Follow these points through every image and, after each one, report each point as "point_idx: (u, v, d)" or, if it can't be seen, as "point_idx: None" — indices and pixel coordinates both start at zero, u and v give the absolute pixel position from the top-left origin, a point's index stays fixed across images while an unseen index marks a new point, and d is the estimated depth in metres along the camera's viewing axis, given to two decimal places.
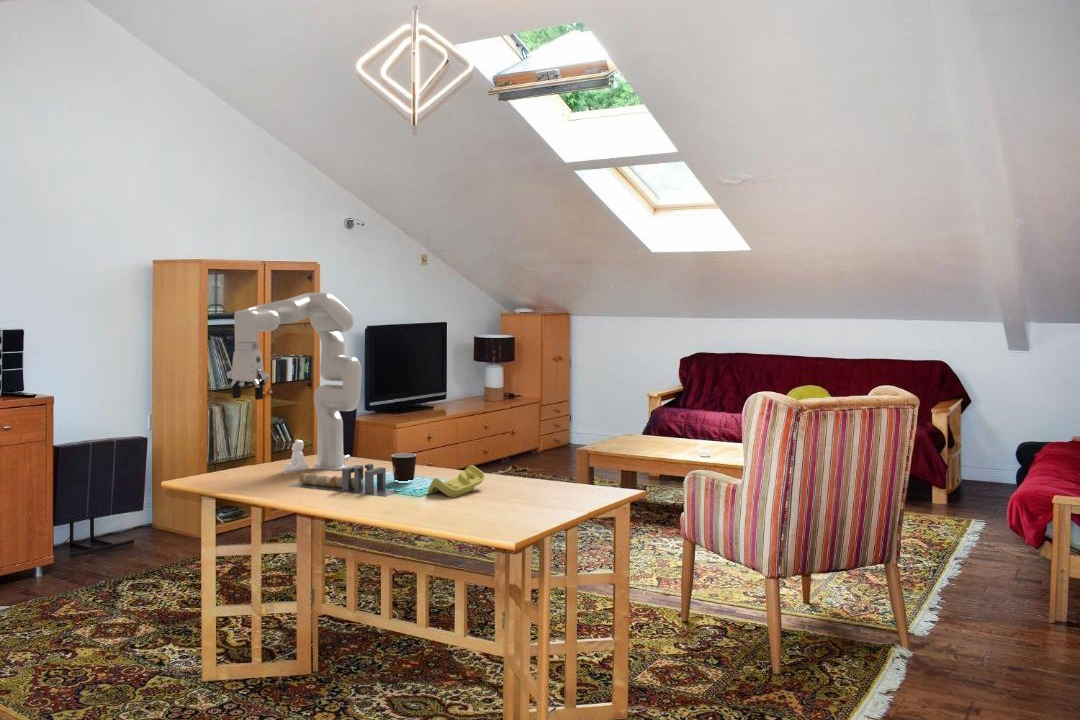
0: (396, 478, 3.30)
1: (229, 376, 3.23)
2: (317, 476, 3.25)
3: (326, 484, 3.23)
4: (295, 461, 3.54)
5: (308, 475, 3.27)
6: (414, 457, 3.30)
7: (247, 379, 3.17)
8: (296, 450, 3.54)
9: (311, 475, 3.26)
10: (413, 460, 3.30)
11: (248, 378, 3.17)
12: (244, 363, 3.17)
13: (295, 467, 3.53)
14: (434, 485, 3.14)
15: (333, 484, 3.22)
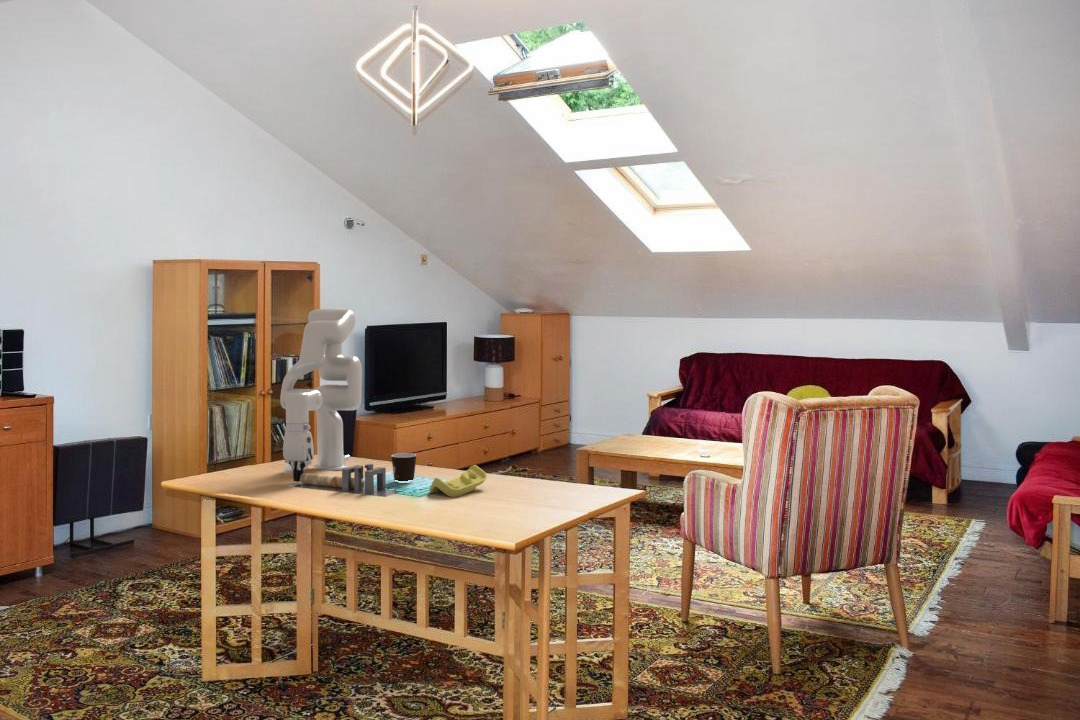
0: (396, 478, 3.30)
1: (288, 461, 3.31)
2: (318, 476, 3.25)
3: (327, 484, 3.23)
4: None
5: (309, 475, 3.27)
6: (414, 457, 3.30)
7: (298, 459, 3.27)
8: None
9: (312, 475, 3.26)
10: (413, 460, 3.30)
11: (299, 458, 3.27)
12: (295, 444, 3.26)
13: None
14: (435, 485, 3.14)
15: (334, 484, 3.21)
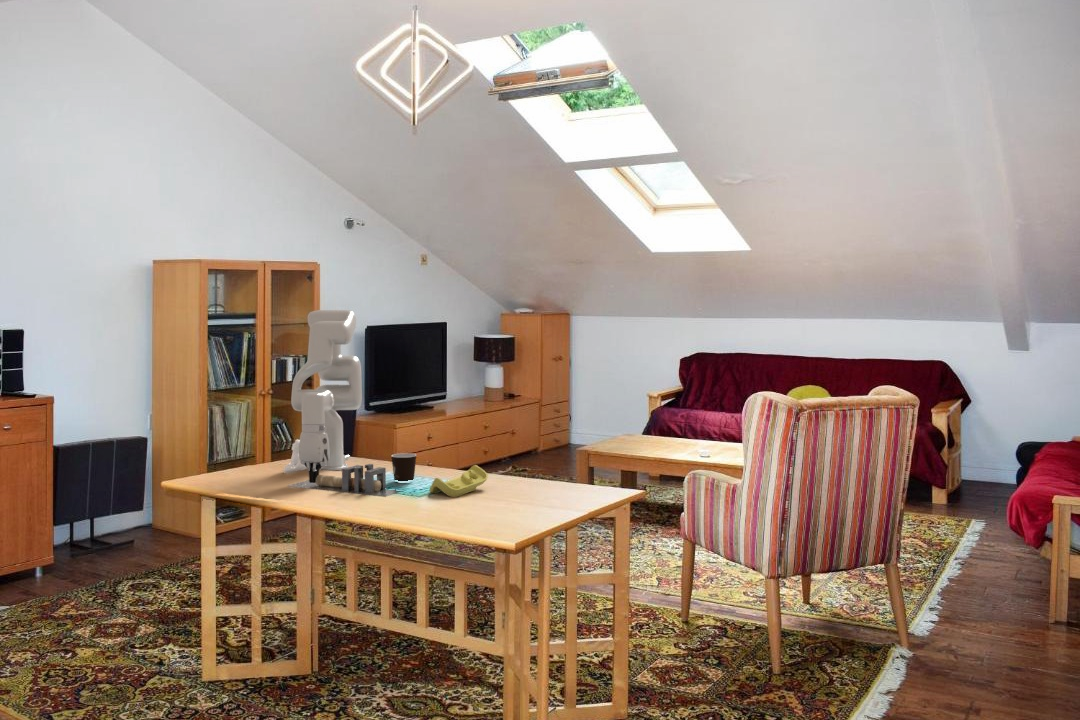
0: (396, 478, 3.30)
1: (304, 462, 3.28)
2: (334, 478, 3.22)
3: None
4: (295, 461, 3.54)
5: (325, 477, 3.24)
6: (414, 457, 3.30)
7: (314, 460, 3.24)
8: (296, 450, 3.54)
9: (328, 477, 3.23)
10: (413, 460, 3.30)
11: (315, 459, 3.24)
12: (311, 445, 3.23)
13: (295, 467, 3.53)
14: (435, 485, 3.14)
15: (351, 486, 3.18)
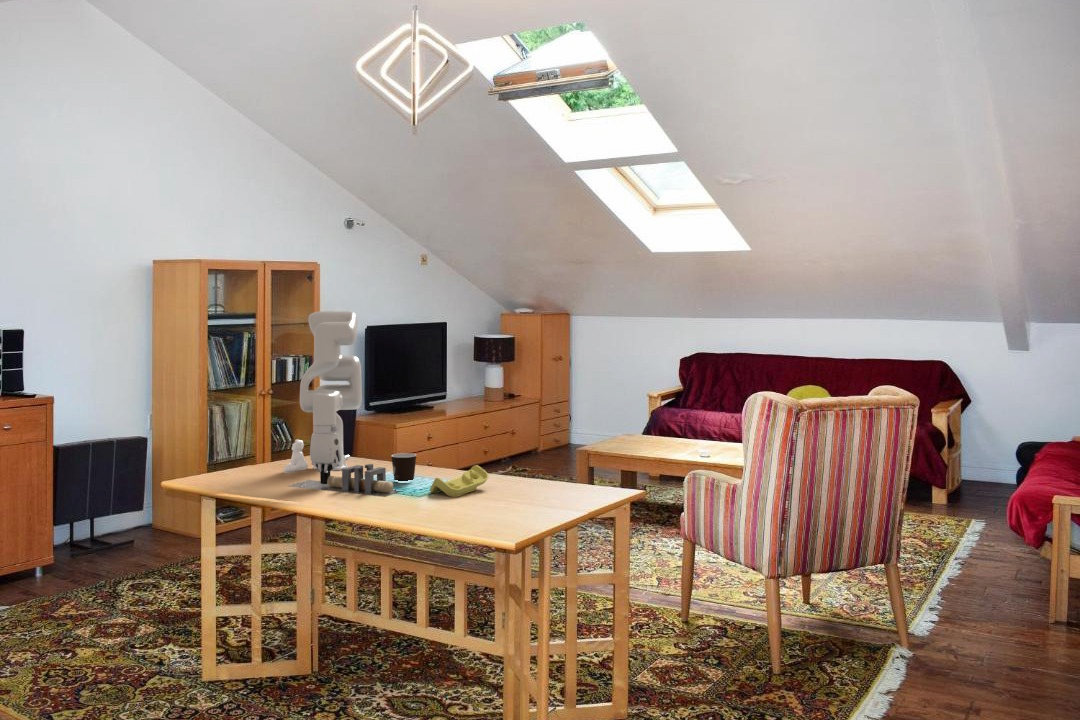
0: (396, 478, 3.30)
1: (315, 463, 3.26)
2: None
3: None
4: (295, 461, 3.54)
5: (336, 478, 3.22)
6: (414, 457, 3.30)
7: (325, 461, 3.22)
8: (296, 450, 3.54)
9: (339, 478, 3.21)
10: (413, 460, 3.30)
11: (326, 460, 3.21)
12: (322, 446, 3.21)
13: (295, 467, 3.53)
14: (435, 484, 3.14)
15: (362, 487, 3.16)
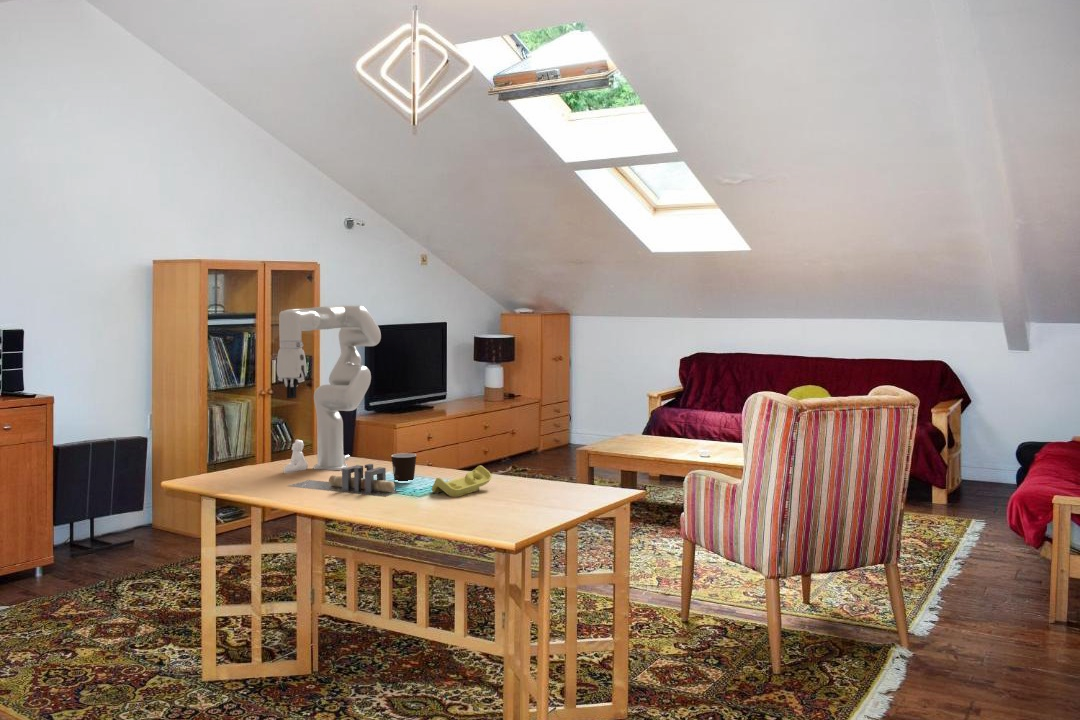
0: (396, 478, 3.30)
1: (281, 379, 3.39)
2: None
3: None
4: (295, 461, 3.54)
5: (339, 476, 3.23)
6: (414, 457, 3.30)
7: (291, 376, 3.35)
8: (296, 450, 3.54)
9: None
10: (413, 460, 3.30)
11: (292, 375, 3.35)
12: (288, 361, 3.34)
13: (295, 467, 3.53)
14: (437, 484, 3.15)
15: (364, 484, 3.17)
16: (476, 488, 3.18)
